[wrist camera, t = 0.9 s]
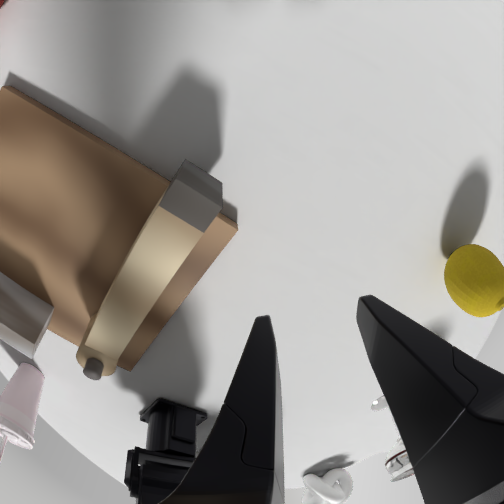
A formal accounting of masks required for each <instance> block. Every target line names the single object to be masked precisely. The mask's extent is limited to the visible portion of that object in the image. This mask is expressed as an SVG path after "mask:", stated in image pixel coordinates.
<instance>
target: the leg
mask: <svg viewBox="0 0 504 504" xmlns="http://www.w3.org/2000/svg"><path fill="white" fill-rule="evenodd" d="M222 208H223V201H222V182H220V181H219V180H217V179H216V178H214V177H213V176H211V175H209V174H208V173H206V172H205V171H203V170H202V169H200V168H199V167H197V166H195V165H194V164H192V163H191V162H189V161H188V160H186V159H185V161H184V162H183V164H182V165H181V167H180V168H179V170H178V171H177V173H176V174H175V176H174V177H173V179H172V181H171V182H170V184H169V185H168V187H167V188H166V190H165V192H164V193H163V195H162V196H161V198H160V199H159V201H158V203H157V204H156V206H155V208H154V209H153V211H152V213H151V214H150V216H149V218H148V219H147V221H146V223H145V224H144V226H143V228H142V229H141V231H140V233H139V235H138V236H137V238H136V240H135V242H134V243H133V245H132V247H131V249H130V251H129V252H128V254H127V256H126V258H125V260H124V262H123V263H122V265H121V267H120V269H119V271H118V273H117V275H116V277H115V279H114V280H113V282H112V284H111V286H110V288H109V290H108V292H107V294H106V296H105V298H104V300H103V302H102V304H101V306H100V309H99V311H98V313H95V314H94V315H93V316H92V317H91V319H90V322H89V324H88V326H87V329H86V331H85V334H84V336H83V338H82V341H81V343H80V346H79V348H78V351H77V354H76V359H77V361H78V363H79V364H80V365H81V366H82V367H83V368H84V367H85V364H86V361H87V359H88V358H95V359H98V360H99V361H101V362H102V363H103V365H104V368H103V372H102V375H101V376H109V375H112V374H113V373H114V372H115V370H116V366H117V362H118V358H119V357H120V355H121V354H122V352H123V351H124V349H125V347H126V346H127V344H128V343H129V341H130V340H131V338H132V337H133V335H134V334H135V332H136V331H137V329H138V327H139V326H140V324H141V323H142V321H143V320H144V318H145V317H146V315H147V314H148V312H149V311H150V309H151V308H152V306H153V305H154V303H155V302H156V301H157V299H158V298H159V296H160V295H161V293H162V292H163V290H164V289H165V287H166V286H167V284H168V283H169V282H170V280H171V279H172V277H173V276H174V274H175V273H176V272H177V270H178V269H179V267H180V266H181V264H182V263H183V262H184V260H185V259H186V257H187V256H188V255H189V253H190V252H191V250H192V249H193V248H194V246H195V245H196V243H197V242H198V241H199V239H200V238H201V236H202V235H203V234H204V232H205V231H206V230H207V228H208V227H209V225H210V224H211V223H212V221H213V220H214V219H215V217H216V216H217V215H218V213H219V212H220V211H221V209H222Z"/></svg>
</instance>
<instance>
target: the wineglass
mask: <svg viewBox="0 0 504 504" xmlns="http://www.w3.org/2000/svg"><path fill="white" fill-rule="evenodd" d="M387 408H389V406H388V404H387V401H386V399H385V396H382V397H381V398H379V399H378V400H377V401H375V402H374V404H373V405H372V407H371V409H372V410H373V411H380V410H384V409H387ZM389 411H390V408H389ZM390 414H391V416H392V413H391V411H390ZM392 419H393V422H394V425H395V428H396V431H397V433H398V436H399V438H398V439H397V443H396V444H395V445H394V446H393V447H392V448H391V450H390V451H389V453H388V455H387V457H386V463H385V466H386V469H387V471H388V472H389V473H390V474H391V475H392V479H391V482H394V481H398V480H401V479H404V478H407V477H409V476H412V475H414V474H415V473H414V471H413V467H412V465H411V462H410V459H409V457H408V454H407V451H406V449H405V446H404V443H403V441H402V438H401V436H400V433H399V431H398V428H397V426H396V423H395V421H394V418H393V416H392Z"/></svg>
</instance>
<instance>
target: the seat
mask: <svg viewBox="0 0 504 504" xmlns="http://www.w3.org/2000/svg"><path fill="white" fill-rule="evenodd" d="M169 184H170V181H168V180H167V179H165V178H164V177H162V176H160V175H159V174H157V173H155V172H154V171H152V170H151V169H149V168H147V167H146V166H144V165H142V164H141V163H139V162H138V161H136V160H134V159H133V158H131V157H129V156H128V155H126V154H124V153H123V152H121V151H120V150H118V149H116V148H115V147H113V146H111V145H110V144H108V143H106V142H105V141H103V140H101V139H100V138H98V137H96V136H95V135H93V134H91V133H90V132H88V131H86V130H85V129H83V128H81V127H80V126H78V125H76V124H75V123H73V122H71V121H70V120H68V119H66V118H65V117H63V116H61V115H59V114H58V113H56V112H54V111H53V110H51V109H49V108H48V107H46V106H44V105H43V104H41V103H39V102H37V101H36V100H34V99H32V98H31V97H29V96H27V95H25V94H24V93H22V92H20V91H18V90H17V89H15V88H13V87H12V86H3V87H2V88H1V90H0V339H1V340H2V341H4V342H5V343H7V344H8V345H10V346H11V347H13V348H14V349H16V350H18V351H19V352H21V353H22V354H24V355H26V356H27V357H29V358H31V359H32V358H33V356H34V354H35V352H36V349H37V347H38V345H39V343H40V341H41V339H42V337H43V335H44V334H45V332H46V330H47V329H48V330H50V331H52V332H54V333H55V334H57V335H59V336H61V337H62V338H64V339H66V340H68V341H70V342H71V343H73V344H75V345H77V346H80V343H81V341H82V338H83V336H84V334H85V331H86V329H87V326H88V324H89V322H90V319H91V317H92V316H93V315H94V314H95V313H98V311H99V309H100V306H101V304H102V302H103V300H104V298H105V296H106V294H107V292H108V290H109V288H110V286H111V284H112V282H113V280H114V279H115V277H116V275H117V273H118V271H119V269H120V267H121V265H122V263H123V262H124V260H125V258H126V256H127V254H128V252H129V251H130V249H131V247H132V245H133V243H134V242H135V240H136V238H137V236H138V235H139V233H140V231H141V229H142V228H143V226H144V224H145V223H146V221H147V219H148V218H149V216H150V214H151V213H152V211H153V209H154V208H155V206H156V204H157V203H158V201H159V199H160V198H161V196H162V195H163V193H164V192H165V190H166V188H167V187H168V185H169ZM237 231H238V225H237V223H235V222H234V221H232V220H231V219H229V218H228V217H226V216H224V215H223V214H221V213H220V212H219V213H218V215H217V216H216V217H215V219H214V220H213V221H212V223H211V224H210V225H209V227H208V228H207V230H206V231H205V232H204V234H203V235H202V236H201V238H200V239H199V241H198V242H197V243H196V245H195V246H194V248H193V249H192V250H191V252H190V253H189V255H188V256H187V257H186V259H185V260H184V262H183V263H182V264H181V266H180V267H179V269H178V270H177V272H176V273H175V274H174V276H173V277H172V279H171V280H170V282H169V283H168V284H167V286H166V287H165V289H164V290H163V292H162V293H161V295H160V296H159V298H158V299H157V301H156V302H155V303H154V305H153V306H152V308H151V309H150V311H149V312H148V314H147V315H146V317H145V318H144V320H143V321H142V323H141V324H140V326H139V327H138V329H137V331H136V332H135V334H134V335H133V337H132V338H131V340H130V341H129V343H128V344H127V346H126V347H125V349H124V351H123V352H122V354H121V355H120V357H119V358H118V362H117V366H119V367H121V368H123V369H126V370H128V371H131V370H132V369H133V367H134V366H135V365H136V363H137V362H138V361H139V359H140V358H141V357H142V355H143V354H144V352H145V351H146V350H147V348H148V347H149V346H150V344H151V343H152V342H153V340H154V339H155V338H156V336H157V335H158V334H159V332H160V331H161V330H162V328H163V327H164V326H165V324H166V323H167V322H168V320H169V319H170V318H171V316H172V315H173V314H174V312H175V311H176V310H177V308H178V307H179V306H180V304H181V303H182V302H183V301H184V299H185V298H186V297H187V295H188V294H189V293H190V291H191V290H192V289H193V287H194V286H195V285H196V284H197V282H198V281H199V280H200V278H201V277H202V276H203V274H204V273H205V272H206V271H207V269H208V268H209V267H210V265H211V264H212V263H213V262H214V260H215V259H216V258H217V256H218V255H219V254H220V253H221V251H222V250H223V249H224V247H225V246H226V245H227V244H228V242H229V241H230V240H231V239H232V237H233V236H234V235H235V233H236V232H237ZM103 368H104V365H103V363H102V362H101V361H99V360H98V359H95V358H88V359H87V361H86V364H85V367H84V370H83V373H84V374H85V376H87V377H88V378H90V379H93V380H99V379H100V378H101V375H102V372H103Z"/></svg>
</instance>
